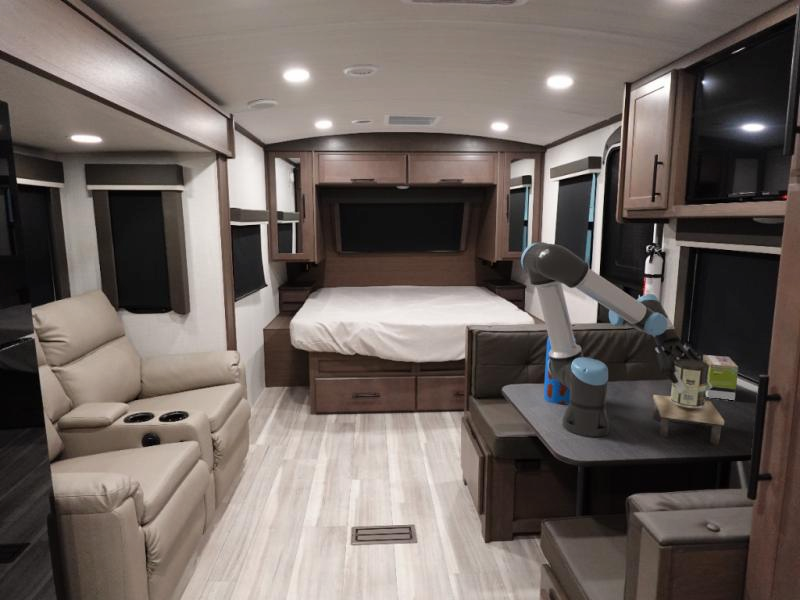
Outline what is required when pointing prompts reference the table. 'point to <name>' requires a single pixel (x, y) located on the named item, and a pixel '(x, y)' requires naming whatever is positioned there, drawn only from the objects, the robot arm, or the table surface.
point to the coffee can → (690, 383)
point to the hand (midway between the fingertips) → (696, 390)
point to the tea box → (721, 377)
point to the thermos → (554, 385)
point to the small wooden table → (687, 416)
